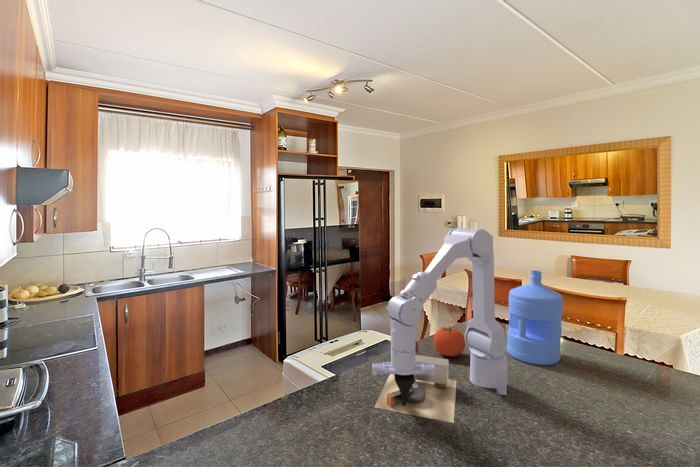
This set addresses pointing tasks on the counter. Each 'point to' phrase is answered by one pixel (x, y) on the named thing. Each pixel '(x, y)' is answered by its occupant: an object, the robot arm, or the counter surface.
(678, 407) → the counter surface
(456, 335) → the tomato
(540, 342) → the water jug
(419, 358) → the grey long rectangular block
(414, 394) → the grey lidded pan
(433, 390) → the wooden board
